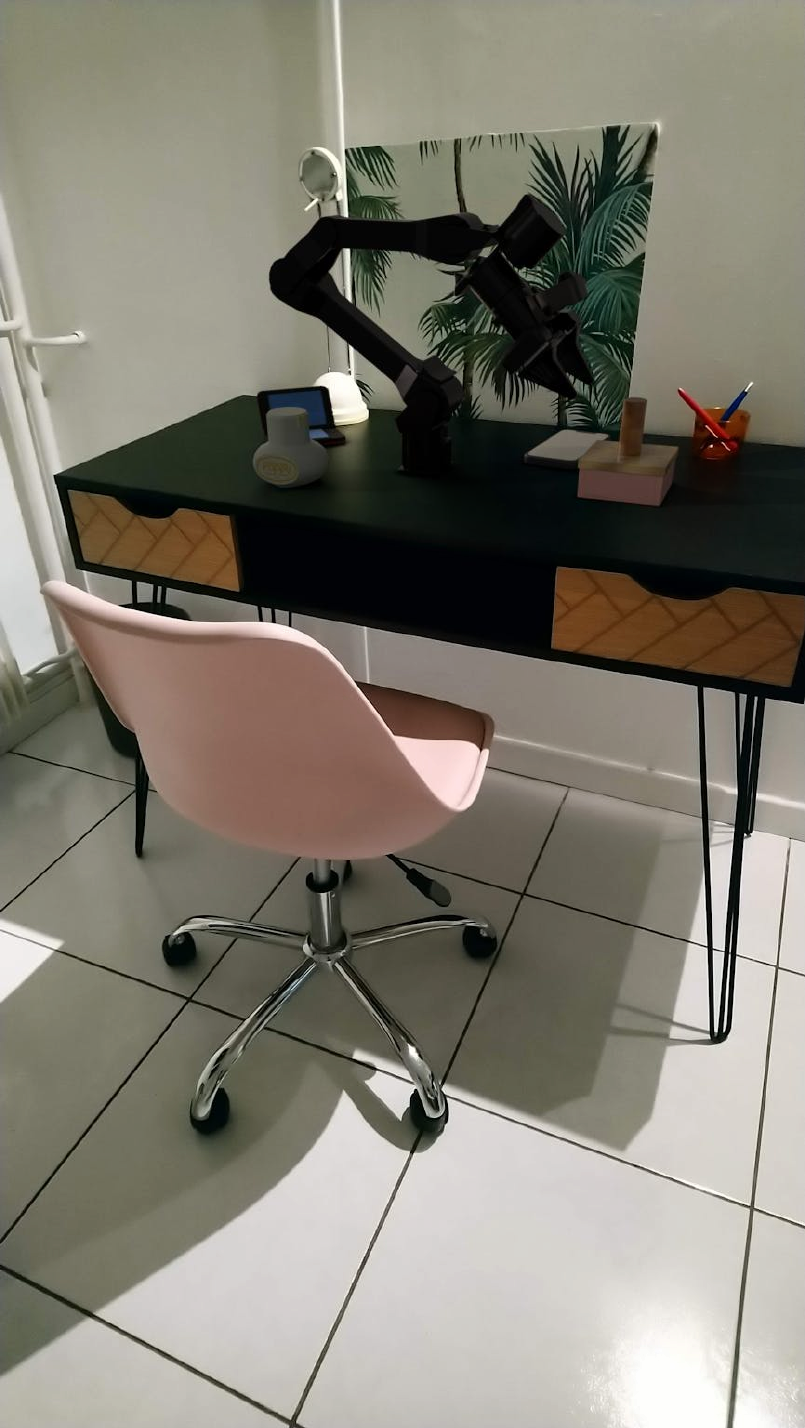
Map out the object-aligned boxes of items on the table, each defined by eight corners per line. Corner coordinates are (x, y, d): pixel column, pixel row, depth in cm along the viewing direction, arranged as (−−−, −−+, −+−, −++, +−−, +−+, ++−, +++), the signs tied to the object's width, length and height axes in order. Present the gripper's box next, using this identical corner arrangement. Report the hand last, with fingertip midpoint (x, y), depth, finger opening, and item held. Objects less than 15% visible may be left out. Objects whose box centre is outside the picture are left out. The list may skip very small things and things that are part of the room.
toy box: (577, 497, 122) (579, 468, 119) (594, 476, 129) (597, 448, 127) (659, 506, 118) (663, 476, 116) (671, 484, 125) (675, 455, 123)
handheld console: (273, 452, 144) (268, 404, 140) (259, 436, 153) (254, 391, 149) (347, 443, 147) (345, 396, 143) (330, 428, 156) (327, 384, 152)
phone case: (575, 473, 132) (613, 444, 143) (576, 462, 131) (614, 434, 142) (520, 465, 136) (561, 438, 147) (521, 454, 135) (562, 428, 146)
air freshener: (245, 485, 129) (237, 415, 124) (275, 470, 135) (268, 402, 130) (311, 494, 125) (306, 421, 120) (339, 477, 132) (334, 407, 126)
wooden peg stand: (577, 468, 119) (583, 405, 115) (595, 448, 127) (601, 388, 123) (664, 476, 115) (673, 411, 111) (677, 455, 123) (686, 394, 119)
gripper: (531, 255, 105) (615, 359, 107) (571, 242, 119) (644, 334, 121) (467, 325, 112) (547, 421, 114) (512, 305, 126) (582, 391, 128)
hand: (583, 389), depth 119 cm, fingers open, 9 cm apart
